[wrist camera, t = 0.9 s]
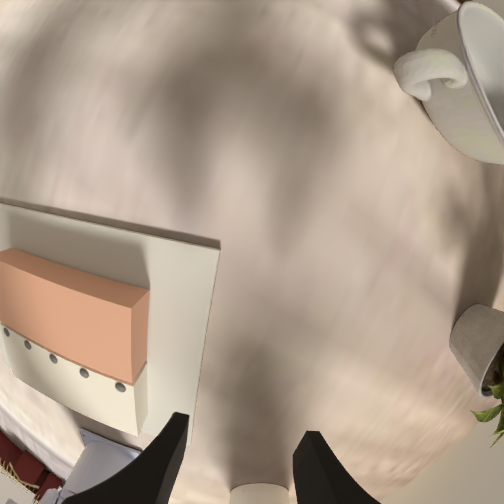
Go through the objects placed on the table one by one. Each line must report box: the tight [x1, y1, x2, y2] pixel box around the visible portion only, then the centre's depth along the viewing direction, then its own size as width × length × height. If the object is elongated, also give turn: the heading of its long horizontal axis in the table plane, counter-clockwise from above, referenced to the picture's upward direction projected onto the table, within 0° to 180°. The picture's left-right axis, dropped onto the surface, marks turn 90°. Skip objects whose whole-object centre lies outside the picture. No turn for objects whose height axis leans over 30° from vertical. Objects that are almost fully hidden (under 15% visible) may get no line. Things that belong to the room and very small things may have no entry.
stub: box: [0, 248, 150, 383], centre depth 15 cm, size 6×14×3 cm, turn 78°
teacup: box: [394, 1, 504, 165], centre depth 10 cm, size 14×11×8 cm
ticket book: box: [0, 322, 148, 436], centre depth 17 cm, size 6×14×3 cm, turn 78°
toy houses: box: [0, 431, 62, 504], centre depth 23 cm, size 45×20×10 cm, turn 49°
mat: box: [0, 203, 221, 446], centre depth 18 cm, size 19×24×1 cm
